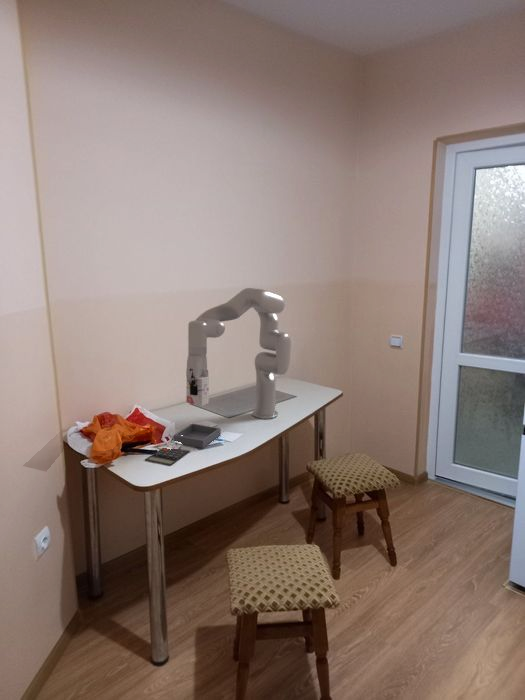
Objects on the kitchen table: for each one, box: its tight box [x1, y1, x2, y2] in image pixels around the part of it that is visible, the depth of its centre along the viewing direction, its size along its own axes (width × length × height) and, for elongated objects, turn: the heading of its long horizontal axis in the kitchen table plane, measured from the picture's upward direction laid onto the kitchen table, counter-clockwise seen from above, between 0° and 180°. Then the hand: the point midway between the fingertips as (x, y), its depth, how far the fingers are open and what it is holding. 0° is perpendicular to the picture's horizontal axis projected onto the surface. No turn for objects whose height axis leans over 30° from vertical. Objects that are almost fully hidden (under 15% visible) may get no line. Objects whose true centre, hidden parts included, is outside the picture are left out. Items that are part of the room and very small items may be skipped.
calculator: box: [144, 447, 191, 467], centre depth 199 cm, size 12×1×15 cm
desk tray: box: [172, 423, 222, 450], centre depth 216 cm, size 16×14×4 cm
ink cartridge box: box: [186, 368, 210, 407], centre depth 212 cm, size 9×5×15 cm, turn 58°
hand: (197, 392), depth 212 cm, fingers closed on ink cartridge box, 5 cm apart
